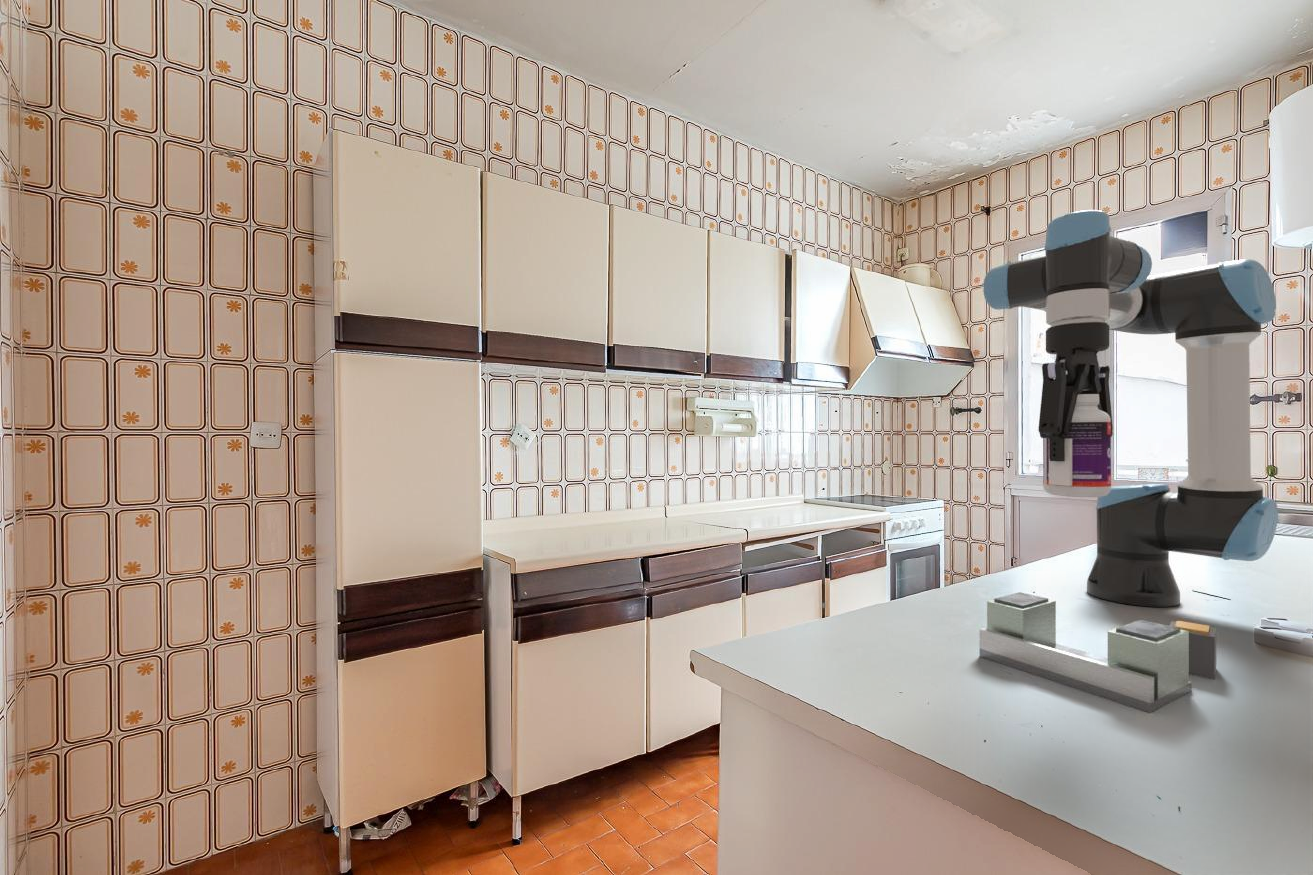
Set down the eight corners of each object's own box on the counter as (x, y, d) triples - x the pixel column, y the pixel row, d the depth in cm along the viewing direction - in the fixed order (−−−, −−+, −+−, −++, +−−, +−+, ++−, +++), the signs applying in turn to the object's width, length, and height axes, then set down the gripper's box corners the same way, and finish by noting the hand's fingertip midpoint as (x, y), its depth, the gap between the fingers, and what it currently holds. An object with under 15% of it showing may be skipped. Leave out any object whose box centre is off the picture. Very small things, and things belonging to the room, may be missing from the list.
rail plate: (1023, 641, 100) (1023, 589, 100) (1191, 690, 81) (1191, 626, 81) (979, 656, 94) (979, 600, 94) (1150, 712, 75) (1150, 643, 75)
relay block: (1171, 660, 92) (1171, 618, 92) (1216, 669, 88) (1216, 625, 88) (1167, 670, 88) (1167, 626, 88) (1214, 680, 85) (1214, 634, 85)
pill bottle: (1123, 499, 83) (1123, 392, 83) (1057, 498, 84) (1057, 394, 84) (1093, 492, 91) (1093, 395, 91) (1034, 492, 92) (1033, 397, 92)
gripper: (1085, 333, 96) (1085, 477, 96) (1008, 322, 85) (1008, 485, 86) (1142, 326, 89) (1142, 481, 89) (1066, 314, 79) (1066, 489, 79)
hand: (1076, 483), depth 88 cm, fingers closed on pill bottle, 8 cm apart
